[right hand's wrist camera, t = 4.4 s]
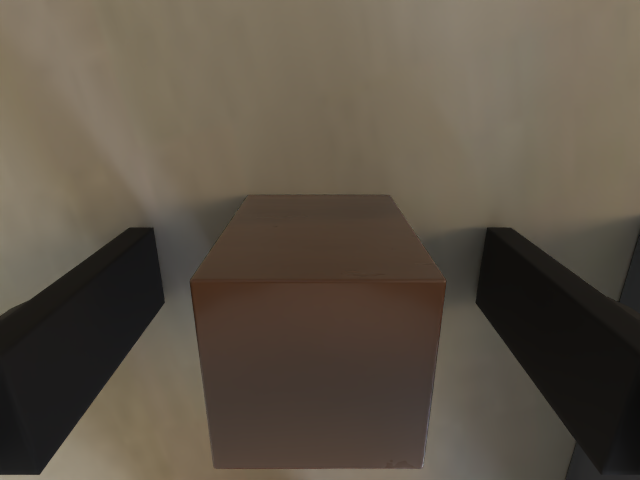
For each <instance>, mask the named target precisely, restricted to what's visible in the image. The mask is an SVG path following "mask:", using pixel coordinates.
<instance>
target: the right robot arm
mask: <svg viewBox="0 0 640 480" xmlns="http://www.w3.org/2000/svg"><path fill="white" fill-rule="evenodd" d="M164 303H165V300H164V294H163V287H162V281H161V275H160V268H159V262H158V255H157V249H156V243H155V236H154V230H153V228H128V229H127V230H126V231H124V232H123V233H122V234H120V235H119V236H117V237H116V238H115V239H113V240H112V241H110V242H109V243H108V244H106V245H105V246H104V247H102V248H101V249H99V250H98V251H97V252H95V253H94V254H93V255H91V256H90V257H88V258H87V259H86V260H84V261H83V262H82V263H80V264H79V265H77V266H76V267H75V268H73V269H72V270H71V271H69V272H68V273H66V274H65V275H64V276H62V277H61V278H59V279H58V280H57V281H55V282H54V283H53V284H51V285H50V286H48V287H47V288H46V289H44V290H43V291H42V292H40V293H39V294H37V295H36V296H35V297H33V298H32V299H31V300H29V301H27V302H24V303H22V304H20V305H18V306H16V307H13V308H11V309H9V310H8V311H7V312H5V313H4V314H2V315H1V316H0V475H40V473H41V472H42V471H43V469H44V468H45V467H46V465H47V464H48V462H49V461H50V460H51V458H52V457H53V456H54V454H55V453H56V451H57V450H58V449H59V447H60V446H61V445H62V443H63V442H64V440H65V439H66V438H67V436H68V435H69V434H70V432H71V431H72V429H73V428H74V427H75V425H76V424H77V423H78V421H79V420H80V418H81V417H82V416H83V414H84V413H85V412H86V410H87V409H88V407H89V406H90V405H91V403H92V402H93V401H94V399H95V398H96V396H97V395H98V394H99V392H100V391H101V390H102V388H103V387H104V385H105V384H106V383H107V381H108V380H109V379H110V377H111V376H112V375H113V373H114V372H115V370H116V369H117V368H118V366H119V365H120V364H121V362H122V361H123V359H124V358H125V357H126V355H127V354H128V353H129V351H130V350H131V348H132V347H133V346H134V344H135V343H136V342H137V340H138V339H139V337H140V336H141V335H142V333H143V332H144V331H145V329H146V328H147V326H148V325H149V324H150V322H151V321H152V320H153V318H154V317H155V315H156V314H157V313H158V311H159V310H160V309H161V307H162V306H163V304H164ZM476 304H477V305H478V307H479V308H480V309H481V311H482V312H483V314H484V315H485V316H486V318H487V319H488V320H489V322H490V323H491V325H492V326H493V327H494V329H495V330H496V331H497V333H498V334H499V335H500V337H501V338H502V340H503V341H504V342H505V344H506V345H507V346H508V348H509V349H510V351H511V352H512V353H513V355H514V356H515V357H516V359H517V360H518V362H519V363H520V364H521V366H522V367H523V368H524V370H525V371H526V373H527V374H528V375H529V377H530V378H531V379H532V381H533V382H534V384H535V385H536V386H537V388H538V389H539V390H540V392H541V393H542V395H543V396H544V397H545V399H546V400H547V401H548V403H549V404H550V406H551V407H552V408H553V410H554V411H555V412H556V414H557V415H558V417H559V418H560V419H561V421H562V422H563V423H564V425H565V426H566V428H567V429H568V430H569V432H570V433H571V434H572V436H573V437H574V438H575V440H576V441H577V443H578V444H579V445H580V447H581V448H582V449H583V451H584V452H585V454H586V455H587V456H588V458H589V459H590V460H591V462H592V463H593V465H594V466H595V467H596V469H597V470H598V471H599V473H600V474H601V475H640V314H639V313H638V312H636V311H635V310H634V309H632V308H631V307H629V306H626V305H624V304H622V303H620V302H617V301H615V300H613V299H611V298H609V297H606V296H604V295H603V294H602V293H600V292H599V291H598V290H596V289H595V288H593V287H592V286H591V285H589V284H588V283H586V282H585V281H584V280H582V279H581V278H580V277H578V276H577V275H575V274H574V273H573V272H571V271H570V270H569V269H567V268H566V267H564V266H563V265H562V264H560V263H559V262H558V261H556V260H555V259H553V258H552V257H551V256H549V255H548V254H546V253H545V252H544V251H542V250H541V249H540V248H538V247H537V246H535V245H534V244H533V243H531V242H530V241H529V240H527V239H526V238H524V237H523V236H522V235H520V234H519V233H518V232H516V231H515V230H513V229H512V228H487V233H486V239H485V245H484V252H483V258H482V265H481V271H480V277H479V284H478V290H477V297H476Z"/></svg>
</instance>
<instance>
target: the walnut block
mask: <svg viewBox="0 0 640 480" xmlns="http://www.w3.org/2000/svg"><path fill="white" fill-rule="evenodd" d="M190 288H191V296H192V303H193V311H194V319H195V327H196V334H197V342H198V350H199V358H200V366H201V373H202V381H203V389H204V397H205V404H206V412H207V420H208V428H209V436H210V443H211V451H212V459H213V466H214V468H215V469H422V468H423V466H424V458H425V450H426V442H427V434H428V426H429V418H430V410H431V402H432V394H433V386H434V377H435V369H436V361H437V353H438V345H439V337H440V329H441V321H442V313H443V305H444V297H445V289H446V279H445V278H444V276H443V275H442V273H441V272H440V270H439V269H438V267H437V266H436V264H435V262H434V261H433V259H432V258H431V256H430V255H429V253H428V252H427V250H426V249H425V247H424V246H423V244H422V243H421V241H420V240H419V238H418V237H417V235H416V234H415V232H414V231H413V229H412V228H411V226H410V225H409V223H408V222H407V220H406V219H405V217H404V216H403V214H402V213H401V211H400V210H399V208H398V206H397V205H396V203H395V202H394V200H393V199H392V197H391V196H390V195H248V196H247V197H246V199H245V200H244V202H243V203H242V205H241V206H240V208H239V209H238V210H237V212H236V213H235V215H234V216H233V218H232V219H231V221H230V222H229V224H228V225H227V227H226V228H225V229H224V231H223V232H222V234H221V235H220V237H219V238H218V240H217V241H216V243H215V244H214V246H213V247H212V249H211V250H210V251H209V253H208V254H207V256H206V257H205V259H204V260H203V262H202V263H201V265H200V266H199V268H198V269H197V271H196V272H195V273H194V275H193V276H192V278H191V279H190Z"/></svg>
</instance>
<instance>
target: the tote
mask: <svg viewBox="0 0 640 480" xmlns="http://www.w3.org/2000/svg"><path fill="white" fill-rule="evenodd" d="M619 302H620V303H622V304H624V305H626V306H629V307H631V308H632V309H634V310H635V311H636V312H638V313H639V314H640V235H639V238H638V242H637V245H636V248H635V252H634V255H633V258H632V262H631V265H630V268H629V271H628V275H627V278H626V281H625V285H624V288H623V291H622V295H621V298H620V301H619ZM566 480H640V475H601V474H600V473H599V471H598V470H597V469H596V467H595V466H594V465H593V463H592V462H591V460H590V459H589V458H588V456H587V455H586V454H585V452H584V451H583V449H582V448H581V447H580V445H579V444H578V443H576V447H575V450H574V453H573V457H572V460H571V463H570V466H569V470H568V473H567V476H566Z"/></svg>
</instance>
